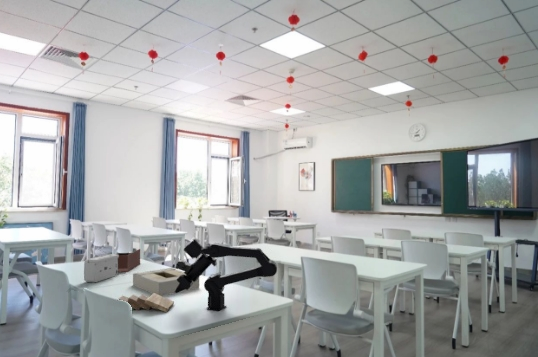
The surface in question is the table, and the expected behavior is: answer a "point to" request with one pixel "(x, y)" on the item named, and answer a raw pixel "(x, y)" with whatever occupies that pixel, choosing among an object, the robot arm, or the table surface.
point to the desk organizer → (128, 261)
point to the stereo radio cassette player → (100, 267)
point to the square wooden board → (159, 302)
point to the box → (160, 281)
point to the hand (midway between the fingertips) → (175, 292)
